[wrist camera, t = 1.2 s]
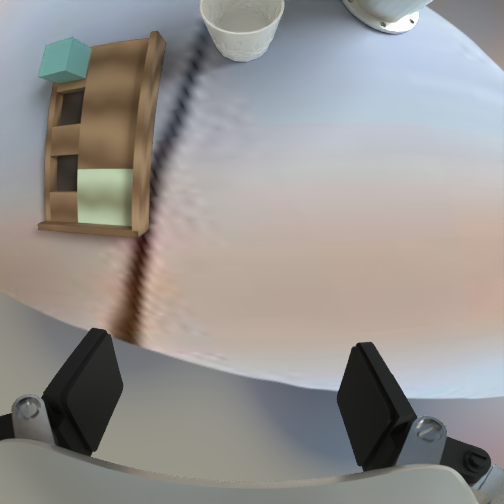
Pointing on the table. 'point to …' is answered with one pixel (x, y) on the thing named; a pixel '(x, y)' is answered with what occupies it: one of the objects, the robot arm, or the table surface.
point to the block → (65, 61)
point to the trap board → (104, 142)
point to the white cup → (242, 26)
